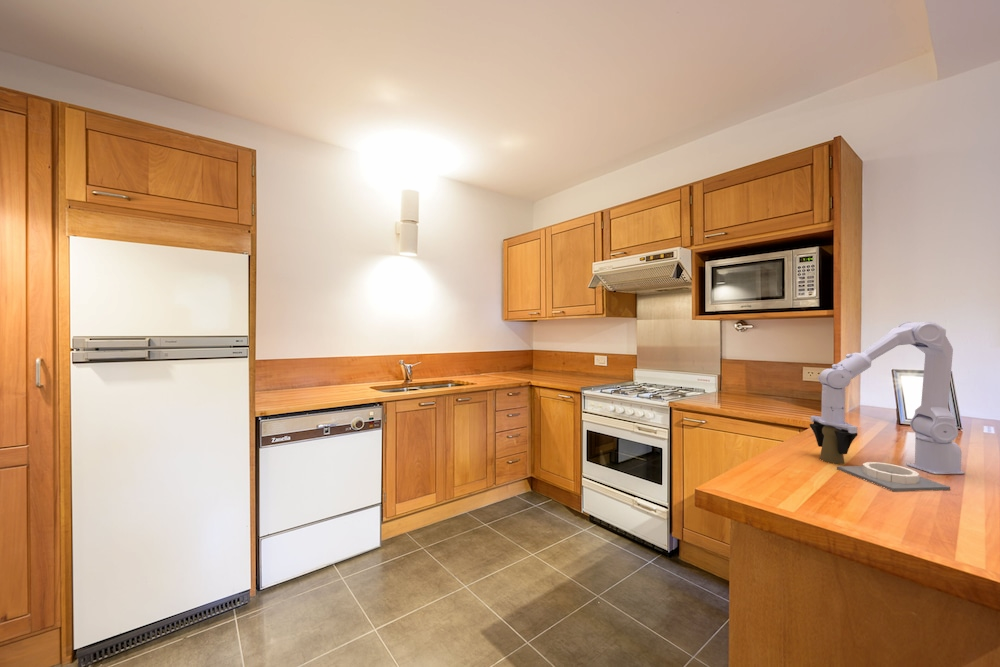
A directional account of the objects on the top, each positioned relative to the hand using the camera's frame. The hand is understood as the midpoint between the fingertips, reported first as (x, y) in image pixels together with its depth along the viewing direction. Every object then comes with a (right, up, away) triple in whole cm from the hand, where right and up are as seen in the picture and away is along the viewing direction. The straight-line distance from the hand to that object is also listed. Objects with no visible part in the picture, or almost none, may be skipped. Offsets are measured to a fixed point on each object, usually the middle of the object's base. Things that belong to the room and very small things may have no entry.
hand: (832, 450), depth 127 cm
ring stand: (+4, -4, -15) cm, 16 cm away
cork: (0, -4, 0) cm, 4 cm away
